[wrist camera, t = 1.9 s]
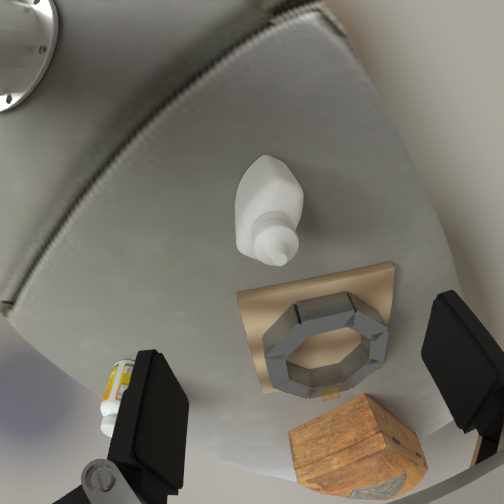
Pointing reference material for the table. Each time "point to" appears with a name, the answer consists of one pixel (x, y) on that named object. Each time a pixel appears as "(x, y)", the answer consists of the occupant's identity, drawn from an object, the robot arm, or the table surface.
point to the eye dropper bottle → (268, 212)
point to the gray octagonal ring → (319, 321)
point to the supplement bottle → (115, 394)
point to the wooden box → (357, 453)
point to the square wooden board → (282, 296)
